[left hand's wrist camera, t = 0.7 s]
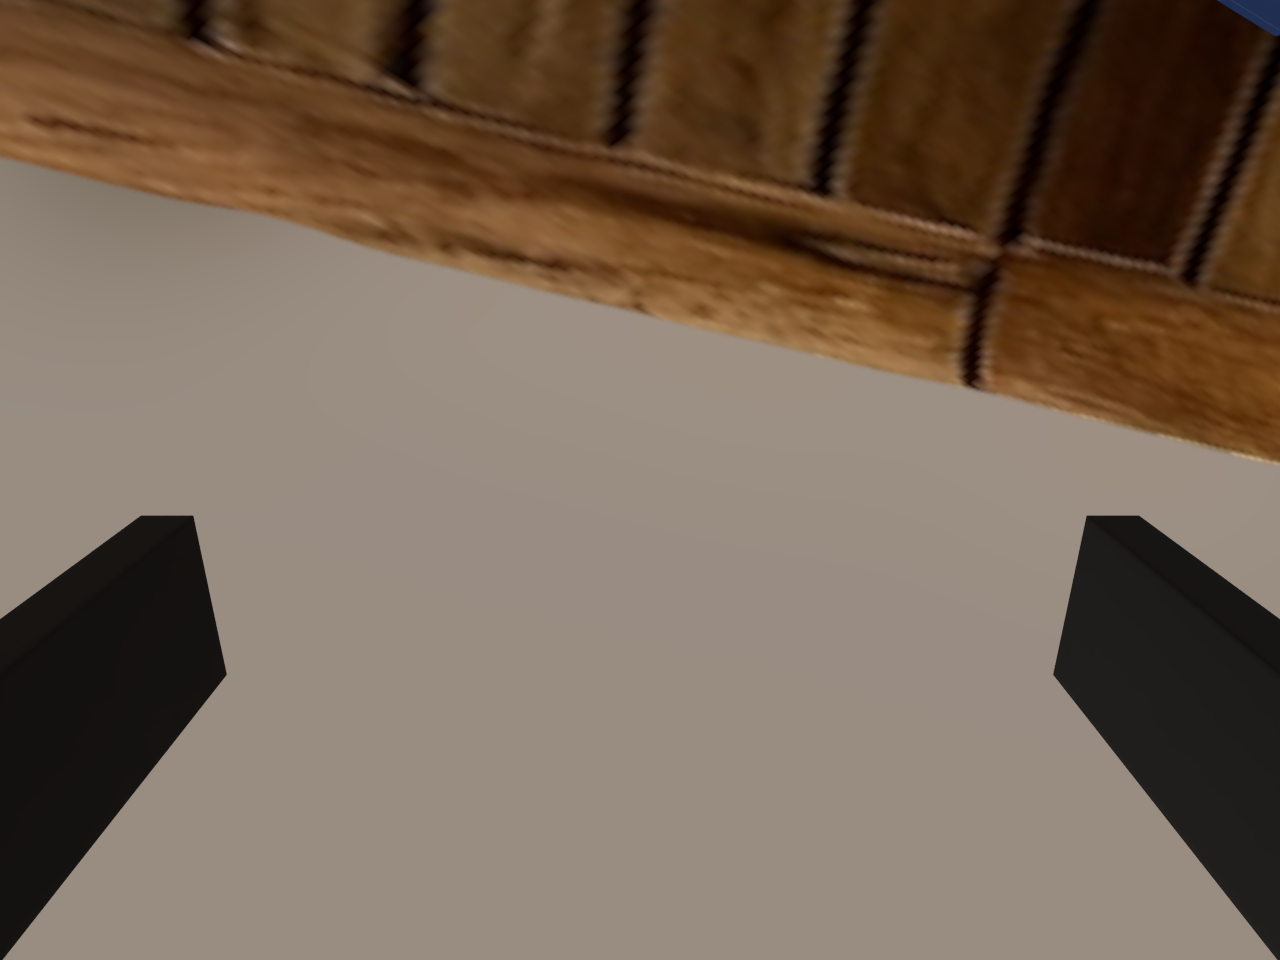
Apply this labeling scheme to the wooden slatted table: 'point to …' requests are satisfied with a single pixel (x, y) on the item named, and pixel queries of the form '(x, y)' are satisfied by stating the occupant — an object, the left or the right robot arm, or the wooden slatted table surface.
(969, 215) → the wooden slatted table surface
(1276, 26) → the cabinet
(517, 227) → the wooden slatted table surface
